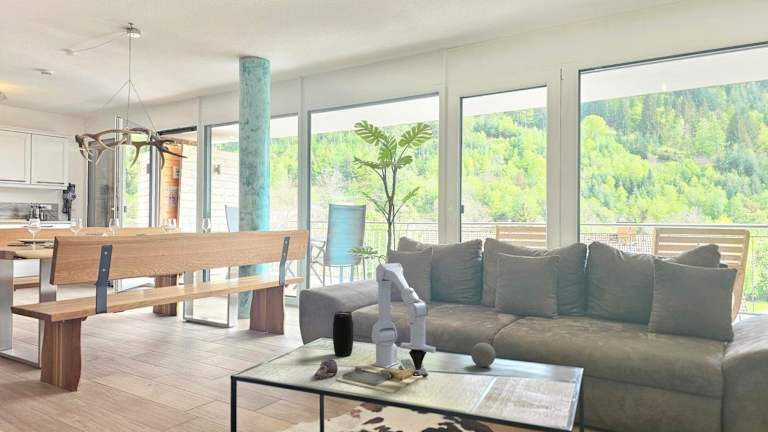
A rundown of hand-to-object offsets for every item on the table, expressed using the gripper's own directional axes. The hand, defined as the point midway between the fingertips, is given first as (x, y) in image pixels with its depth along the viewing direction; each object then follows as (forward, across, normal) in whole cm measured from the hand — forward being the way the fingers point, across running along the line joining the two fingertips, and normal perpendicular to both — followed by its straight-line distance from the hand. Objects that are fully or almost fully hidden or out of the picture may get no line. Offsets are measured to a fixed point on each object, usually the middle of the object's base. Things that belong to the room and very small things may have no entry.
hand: (418, 369), depth 199 cm
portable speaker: (+5, -49, +15) cm, 51 cm away
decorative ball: (+5, +12, +33) cm, 35 cm away
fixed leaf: (+4, -18, -9) cm, 20 cm away
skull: (+5, -35, -14) cm, 38 cm away
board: (+5, -14, -5) cm, 16 cm away
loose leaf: (+4, -11, 0) cm, 11 cm away
